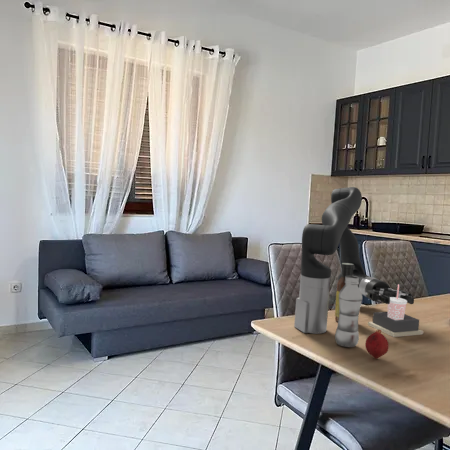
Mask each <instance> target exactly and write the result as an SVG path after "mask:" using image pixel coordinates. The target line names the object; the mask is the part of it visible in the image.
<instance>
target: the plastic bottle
mask: <svg viewBox="0 0 450 450" xmlns="http://www.w3.org/2000/svg"><path fill="white" fill-rule="evenodd" d="M358 281H359V278H358V277H355V276H345V283H346V284H345V286H344V287H343V288H342V289H341V291H340V293H339V320H338V322H337V327H336V330H335V334H334V338H335V339H334V341H335V343H336V344H337V345H338V346H340V347H344V348H355V347H356V346H357V345H358V344H359V339H360V338H359V337H360V335H359V334H360V332H359V316H360V310H361V306H362V302H363V296H364V295H363V294H362V293H361V291H360V289H359V288H358V284H359V282H358Z"/></svg>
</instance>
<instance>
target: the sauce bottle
mask: <svg viewBox="0 0 450 450" xmlns="http://www.w3.org/2000/svg"><path fill="white" fill-rule="evenodd" d="M340 267H341V272H342V274H341V276H342V277H341V278H340V280H339V281H338V280H337V284H336V286H337V287H336V292H335V293H336V294H335V307H334V308H335V309H334V311H335V312H334V317H335V321H336V322H337V323H338V320H339V293H340V291H341V289H342V288H343V287H344V286H345V284H346V283H345V276H353V269H354V264H350V263H342V262H341V266H340Z"/></svg>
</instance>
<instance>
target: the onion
mask: <svg viewBox="0 0 450 450" xmlns="http://www.w3.org/2000/svg"><path fill="white" fill-rule="evenodd" d="M364 345H365V350H366V352H367V353H368V354H369V355H370V356H371V357H372V358H373V359H376V360H377V359H379V358H382V357H383V356H384V355H386V354H387V353H388V351H389V347H390V346H389V341H388V339H387V337H385V335H384V334H383V333H382V331H381V330H380V329H378V330H377V329H376V330H375V331H374V332H372V333H371V334H369V335H368V336H367V337H366V340H365V344H364Z"/></svg>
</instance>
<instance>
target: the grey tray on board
mask: <svg viewBox="0 0 450 450" xmlns="http://www.w3.org/2000/svg"><path fill="white" fill-rule="evenodd" d="M372 314H373V315H372V321H368V322H367V325H368V326H370V327H372V328H374V329H376V330H378V329H380V330H381V333H384V334H386V335H388V336H390V337H392V338H398V337H399V338H400V337H408V336H410V337H411V336H419V335H424V330H421V329H419V326H420V319H419V318H416V317H413V316H412V315H408V314H404V320H393V319H391V318H389V317H387V315H388V311H376V312H375V311H374V312H373V313H372Z"/></svg>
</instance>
